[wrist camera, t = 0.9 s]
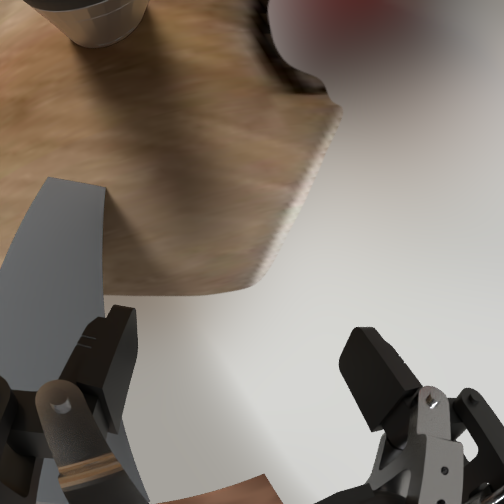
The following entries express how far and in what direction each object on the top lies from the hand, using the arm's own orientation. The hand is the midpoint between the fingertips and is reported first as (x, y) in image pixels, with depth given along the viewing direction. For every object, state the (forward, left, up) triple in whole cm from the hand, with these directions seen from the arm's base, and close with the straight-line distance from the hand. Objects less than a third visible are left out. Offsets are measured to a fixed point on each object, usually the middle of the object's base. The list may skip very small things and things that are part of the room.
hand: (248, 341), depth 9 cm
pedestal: (+2, -13, -28) cm, 31 cm away
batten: (+2, -14, +4) cm, 15 cm away
